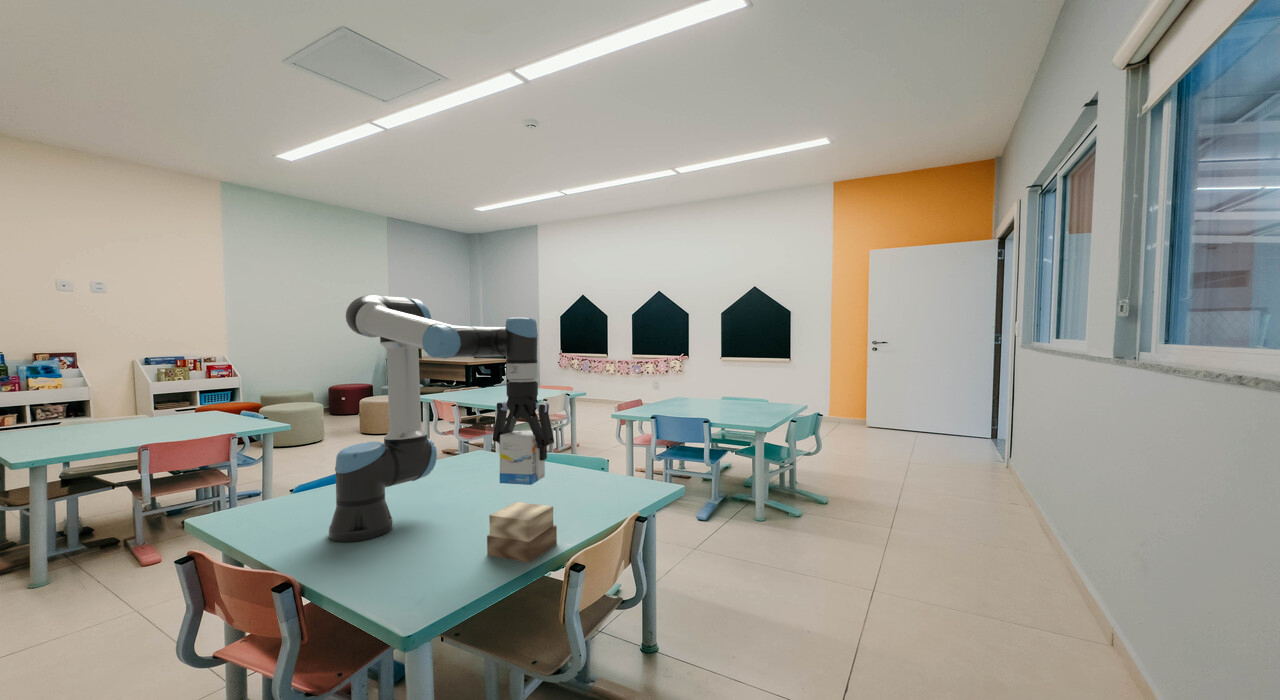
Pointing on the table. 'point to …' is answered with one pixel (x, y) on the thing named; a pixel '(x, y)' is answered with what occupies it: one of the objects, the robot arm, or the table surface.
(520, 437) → the ink box
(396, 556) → the table surface
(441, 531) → the table surface
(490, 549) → the tower base
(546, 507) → the tower top
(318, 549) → the table surface
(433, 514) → the table surface
